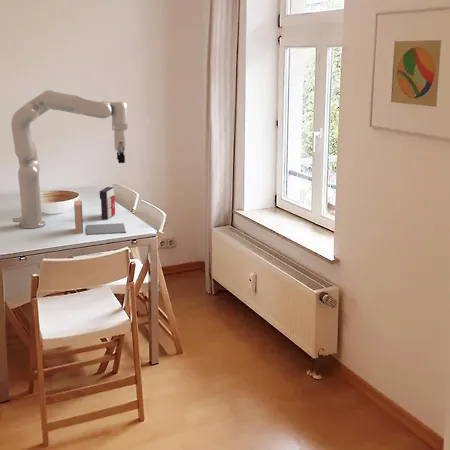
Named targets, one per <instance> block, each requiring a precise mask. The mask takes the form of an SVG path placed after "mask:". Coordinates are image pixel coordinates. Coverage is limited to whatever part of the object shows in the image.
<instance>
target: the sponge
mask: <svg viewBox="0 0 450 450" xmlns="http://www.w3.org/2000/svg"><path fill="white" fill-rule="evenodd" d="M73 202H74V203H73V206H74V207H73V209H74V223H75V224H74V226H75V234H84V224H83V223H84V222H83V221H84V220H83V204H82V203H83V202H82V200H74V201H73Z"/></svg>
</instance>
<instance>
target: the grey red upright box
mask: <svg viewBox="0 0 450 450" xmlns="http://www.w3.org/2000/svg"><path fill="white" fill-rule="evenodd" d="M115 198H116V197H115V188H114V187H113V186H107V187H105V188H103V189H101V190H99V199H100V204H101V205H100V206H101V207H100V209H101V219H102V220H108V218H109V219H110V218H111V217H113V216H114V215H116V200H115Z"/></svg>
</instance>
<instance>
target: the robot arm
mask: <svg viewBox="0 0 450 450" xmlns="http://www.w3.org/2000/svg"><path fill="white" fill-rule="evenodd" d="M49 110H54V111H60V112H67V113H69V114H70V113H71V114H76V115H82V116H86V117H90V118H91V117H93V118H97V119H108V118H109V117H110V116H111V129H112V131H114V133H113V134H114V135H113V136H114V137H113V138H114V139H113V140H114V151H115V152H116V151H117V152H116V160H117V162H118V164H125V163H126V155H125V151H126V131H128V130H129V128H128V104H127V103H126V102H125V101H105V100H103V101H94V100H89V99H86V98H83V97H81V96H78V95H75V94H69V93H68V94H67V93H63V92H57V91H54V90H51V89H46V90H44V91H43V92H42V93H40V94H39V95H37V96H36V97H34V98H32V99H31V100H29V101H28V102H26V103H25V104H23V105H22V106H21V107H20V108H18V110H16V111H15V112H14V114H13V115H12V118H11V123H10V124H11V125H10V126H11V127H10V128H11V132H12V139H13V140H12V141H13V145H14V153H15V156H16V157H17V160H18V165H19V168H18V171H17V177H18V187H19V196H20V197H19V198H20V207H21V208H20V209H21V216H20V217H19V216H18V217H12V222H14V223H18V227H20V228H22V229H23V228H24V229H36V228H41V227H44V226H45V225H46V221H45V220H43V216H42V215H43V213H42V203H41V202H42V201H41V200H42V199H41V188H40V186H41V185H40V172H41V169H40V168H41V167H40V162H39V156H38V152H37V147H36V143H35V142H34V141H33V138H32V132H31V128H30V127H31V126H30V125H31V123H32V122H35V121H36V120H37V119H38V117H40V116H41V115H44V114H45V113H46V112H48V111H49Z"/></svg>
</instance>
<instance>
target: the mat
mask: <svg viewBox="0 0 450 450" xmlns="http://www.w3.org/2000/svg"><path fill="white" fill-rule="evenodd" d="M126 233H127V231H126V227H125V223H123V222H121V223H118V222H117V223H102V224H101V223H100V224H97V223H96V224H86V235H87V236H91V235H105V234H106V235H107V234H108V235H109V234H111V235H113V234H126Z"/></svg>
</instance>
